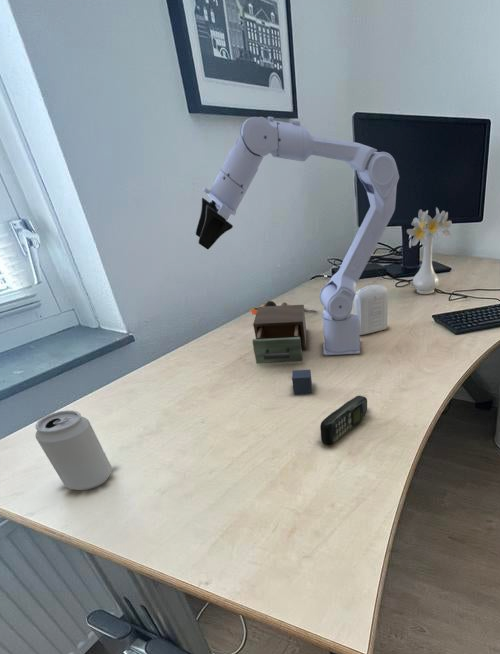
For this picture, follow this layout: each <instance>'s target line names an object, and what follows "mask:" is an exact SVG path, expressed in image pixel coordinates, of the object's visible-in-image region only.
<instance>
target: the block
mask: <svg viewBox="0 0 500 654" xmlns="http://www.w3.org/2000/svg"><path fill="white" fill-rule="evenodd" d="M291 380H292V388H293V395H294V396H296V395H312V394H313V380H312V370H311V369H296V370H292V375H291Z"/></svg>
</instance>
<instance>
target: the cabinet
mask: <svg viewBox="0 0 500 654" xmlns="http://www.w3.org/2000/svg"><path fill="white" fill-rule="evenodd" d="M257 308H258V310H257V313H256V315H255V317H254V319H253V324H252V325H253V331H254V336H255V339H257V334H258V331H259V327H263V326H284V325H299V329H300V338H301V348H302V351H306V350H307V331H308V330H307V322H306V314H305V313H306V312H304V309H305V304H289V305H284V306H281V305H276V306H263V307H262V306H258V307H257Z"/></svg>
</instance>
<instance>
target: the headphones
mask: <svg viewBox="0 0 500 654" xmlns="http://www.w3.org/2000/svg"><path fill="white" fill-rule="evenodd" d="M284 305H290V304H288V303H287V302H282V303H281V304H280V306H284ZM263 306H277V304H276V303H275V302H274V301H272V300H267V301H265V302H263V303H262V305H261V307H263ZM257 310H258V307H252V308H251V309H250V312H251V314H252V315H254V316H256V313H257ZM304 312H305V313H310V312H314V313H316V312H317V310H315V309H314V310H313V309H305V308H304Z"/></svg>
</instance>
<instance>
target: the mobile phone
mask: <svg viewBox="0 0 500 654" xmlns="http://www.w3.org/2000/svg"><path fill="white" fill-rule="evenodd" d="M367 413H368V398H367V397H365V396H364V395H356V396H355V397H353V398H351V399H350V400H348V401H347V402H345V403H344V404H342V405H341V406H340V407H338V408H337V409H336V410H334V411H333V412H331V413H330V414H329V415H328V416H327V417H325V418H324V419H323V420H322V421H321V423H320V427H319V428H320V429H319V430H320V440H321V442H322V444H323V445H325V446H327V447H331V446H333V445H334V444H335V443H336V442H337V441H338V440H340V439H341V438H342V437H343V436H344V435H346V434H347V433H348V432H350V431H352V429H354V428H356V427H357V426H358V425H359V424H360V423H361V422H362V421H363V420H364V418H365V417H366V416H367Z"/></svg>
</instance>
